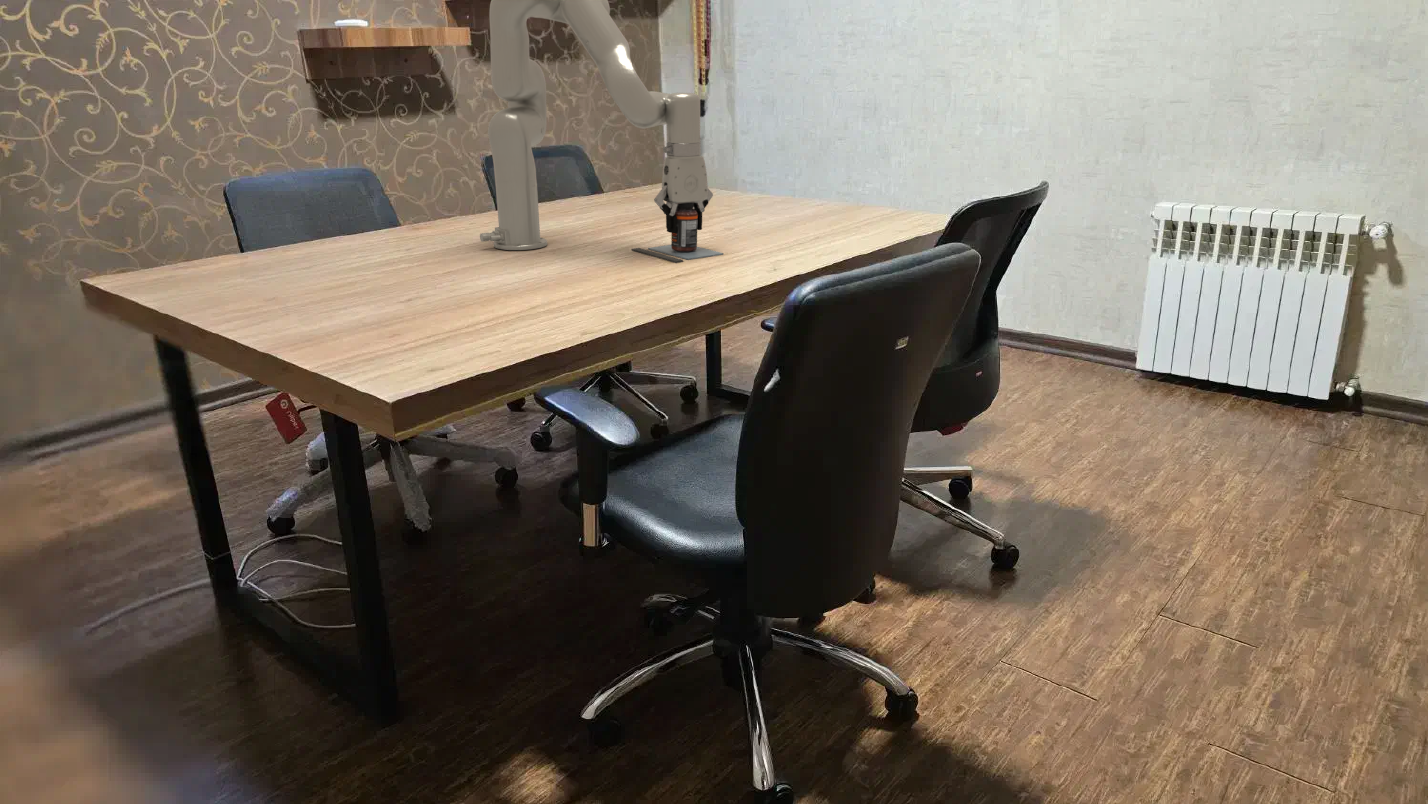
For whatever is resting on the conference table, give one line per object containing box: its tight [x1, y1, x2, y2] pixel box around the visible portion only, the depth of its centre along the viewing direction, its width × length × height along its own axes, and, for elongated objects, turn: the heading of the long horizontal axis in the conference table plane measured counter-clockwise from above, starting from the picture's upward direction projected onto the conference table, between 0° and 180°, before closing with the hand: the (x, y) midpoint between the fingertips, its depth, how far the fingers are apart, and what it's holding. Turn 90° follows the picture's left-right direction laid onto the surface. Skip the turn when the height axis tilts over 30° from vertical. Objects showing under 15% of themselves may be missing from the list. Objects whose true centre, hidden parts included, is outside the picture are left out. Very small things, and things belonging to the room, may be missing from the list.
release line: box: [631, 247, 684, 264], centre depth 220 cm, size 2×18×1 cm, turn 37°
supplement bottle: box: [670, 202, 698, 252], centre depth 222 cm, size 6×6×11 cm
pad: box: [647, 244, 724, 261], centre depth 224 cm, size 10×16×1 cm, turn 37°
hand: (684, 230), depth 222 cm, fingers open, 6 cm apart
